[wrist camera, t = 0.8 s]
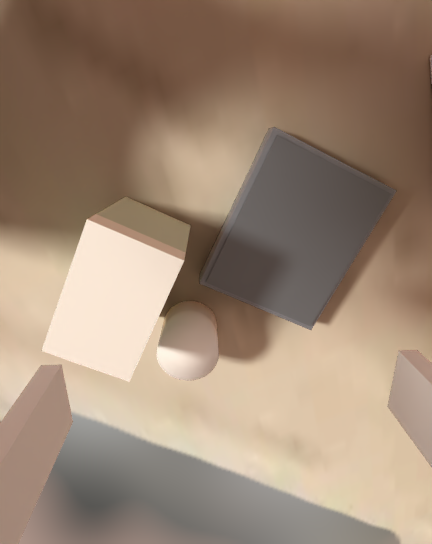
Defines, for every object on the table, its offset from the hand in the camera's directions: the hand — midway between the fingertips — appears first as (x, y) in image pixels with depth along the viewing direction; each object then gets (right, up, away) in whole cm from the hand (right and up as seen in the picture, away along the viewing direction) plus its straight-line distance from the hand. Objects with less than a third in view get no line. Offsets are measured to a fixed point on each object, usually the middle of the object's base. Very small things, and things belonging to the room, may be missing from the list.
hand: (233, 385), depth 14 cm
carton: (-9, +6, +23) cm, 25 cm away
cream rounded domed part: (-4, -2, +26) cm, 26 cm away
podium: (+7, +9, +22) cm, 25 cm away
